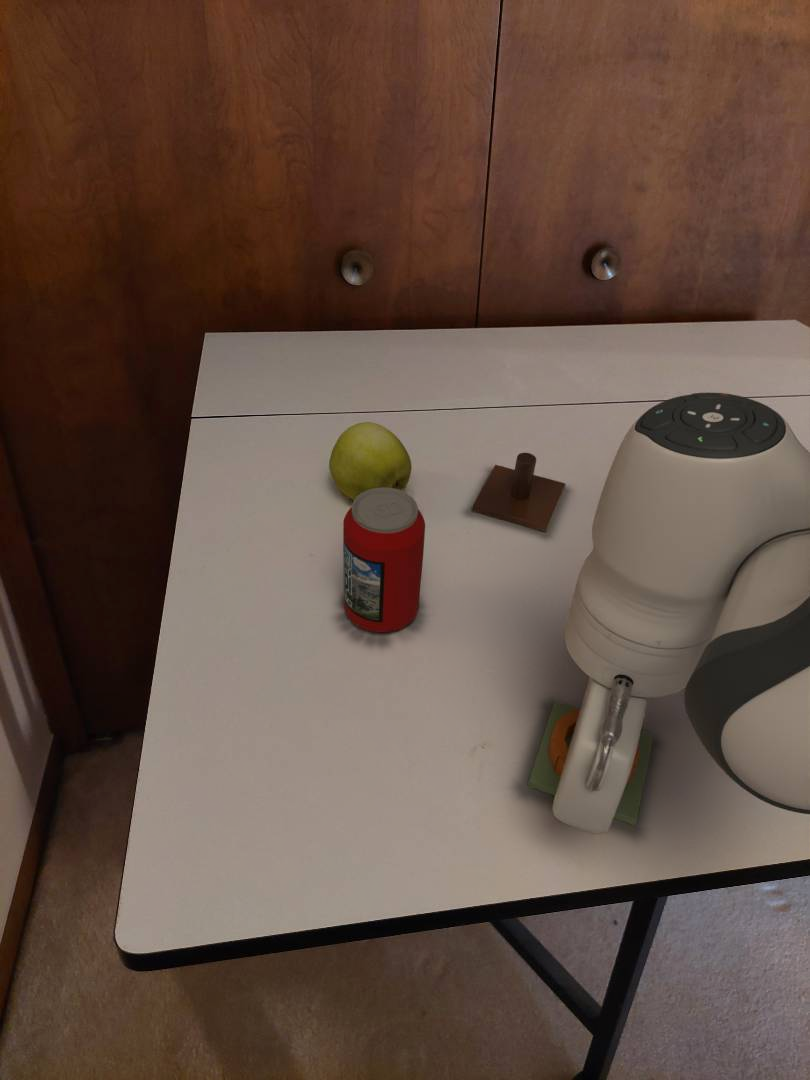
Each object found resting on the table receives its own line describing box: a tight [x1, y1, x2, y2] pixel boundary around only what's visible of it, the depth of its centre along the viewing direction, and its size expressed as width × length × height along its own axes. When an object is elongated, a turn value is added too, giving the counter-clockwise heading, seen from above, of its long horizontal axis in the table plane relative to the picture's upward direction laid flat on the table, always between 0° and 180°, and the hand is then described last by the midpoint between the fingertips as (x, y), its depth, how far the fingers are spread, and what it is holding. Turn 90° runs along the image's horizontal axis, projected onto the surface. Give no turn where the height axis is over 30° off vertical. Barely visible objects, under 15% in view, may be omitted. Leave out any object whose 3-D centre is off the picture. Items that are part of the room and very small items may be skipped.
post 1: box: [471, 452, 566, 533], centre depth 84 cm, size 8×8×6 cm
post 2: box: [527, 700, 655, 826], centre depth 60 cm, size 8×8×6 cm
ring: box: [548, 708, 640, 784], centre depth 60 cm, size 6×6×2 cm
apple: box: [328, 421, 413, 501], centre depth 82 cm, size 8×9×8 cm
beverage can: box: [342, 487, 426, 633], centre depth 68 cm, size 7×7×12 cm
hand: (592, 750), depth 60 cm, fingers closed on ring, 6 cm apart
